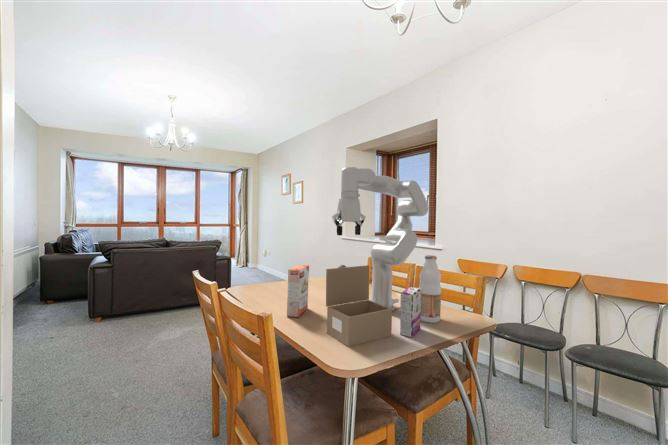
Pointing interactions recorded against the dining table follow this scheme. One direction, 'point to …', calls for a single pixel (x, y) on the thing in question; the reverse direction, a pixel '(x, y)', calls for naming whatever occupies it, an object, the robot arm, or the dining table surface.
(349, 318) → the carton
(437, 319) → the fruit juice
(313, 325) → the dining table surface
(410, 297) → the candy bar box
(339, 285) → the carton lid
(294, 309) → the cracker box
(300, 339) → the dining table surface
